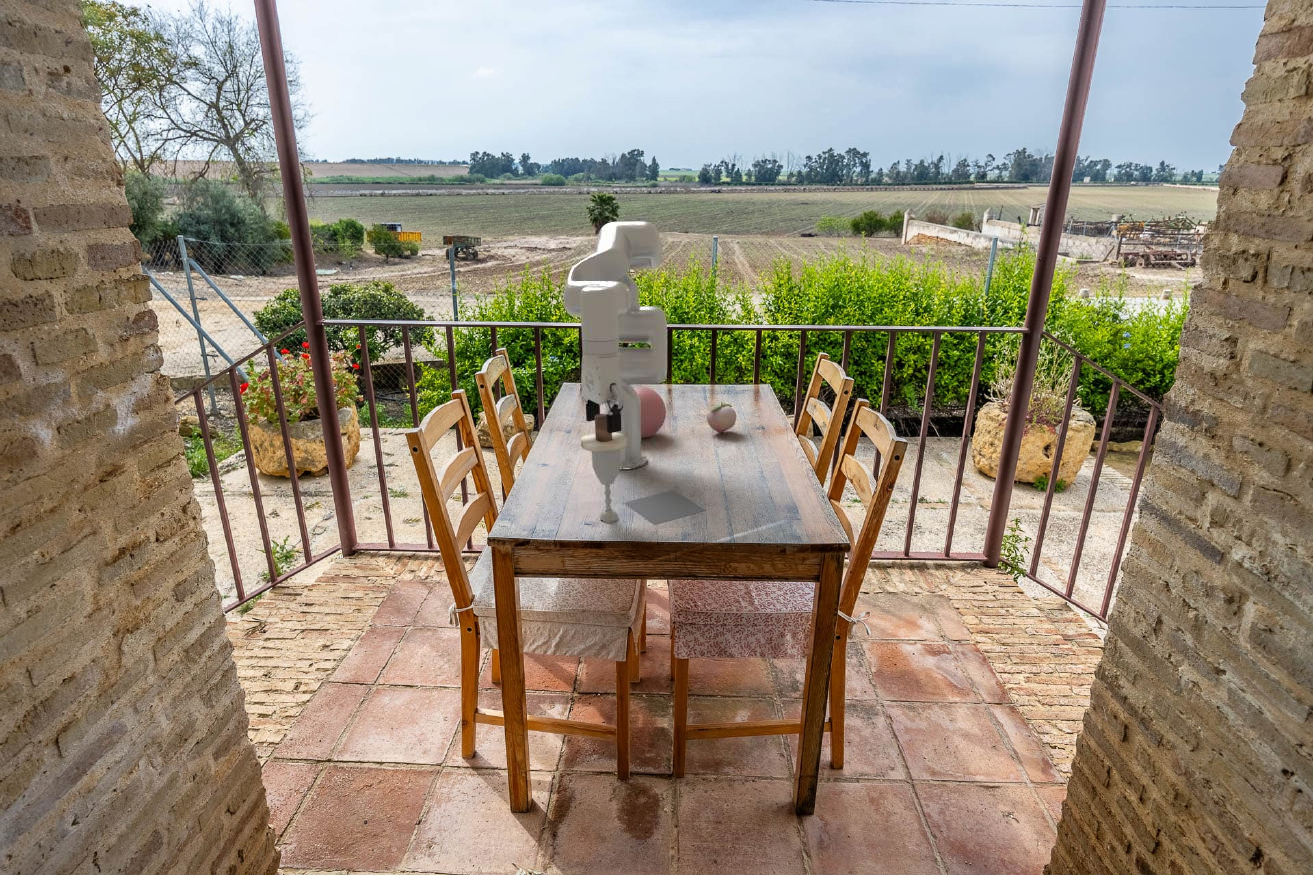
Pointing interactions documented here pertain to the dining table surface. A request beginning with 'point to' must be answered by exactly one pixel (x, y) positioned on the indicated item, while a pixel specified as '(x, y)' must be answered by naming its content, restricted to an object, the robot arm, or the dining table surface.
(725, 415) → the decorative fruit
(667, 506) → the mat
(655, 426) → the balloon
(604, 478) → the chalice
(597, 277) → the robot arm
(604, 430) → the lid
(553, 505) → the dining table surface
